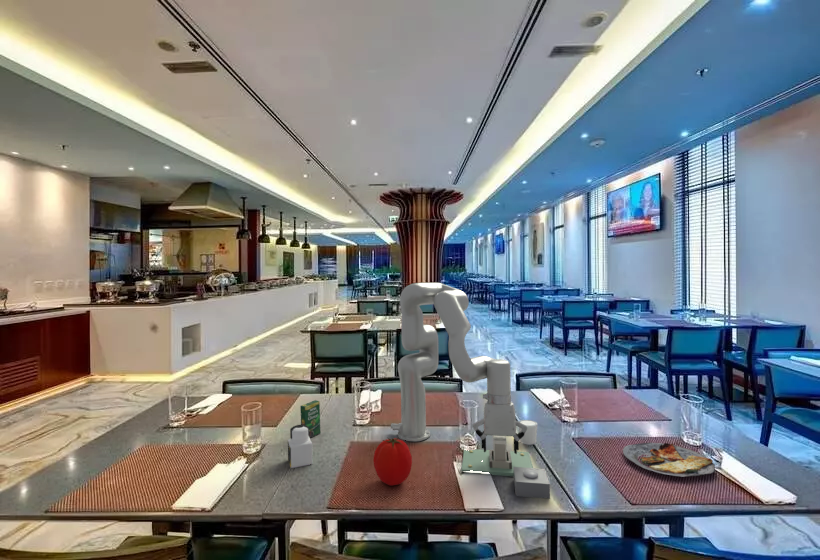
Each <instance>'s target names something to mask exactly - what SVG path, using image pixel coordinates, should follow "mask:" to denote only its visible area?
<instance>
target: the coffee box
mask: <svg viewBox="0 0 820 560" xmlns="http://www.w3.org/2000/svg"><path fill="white" fill-rule="evenodd" d="M320 402H321V401H320V400H316V399H315V400H313V401H310V402H308V403H305V404H302V405H300V407H299V408H300V425H307V426H308V427H309V438H310V437H311V438H313V437H315V435H316V436H318V435H320V434H321V412H320V410H321V409H320V408H321V406H320V405H321V404H320ZM317 434H318V435H317ZM311 438H310V439H311Z"/></svg>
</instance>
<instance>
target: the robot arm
mask: <svg viewBox="0 0 820 560" xmlns="http://www.w3.org/2000/svg"><path fill="white" fill-rule="evenodd" d="M469 302H470V301H469V298H468V295H467V294H466V293H465V292H464V291H462V290H460V289H458V288H455V287H451V286H450V285H447V284H444V283H441V282H414V283H411V284H409V285H407V286H405V287H404V288H403V290H402V291H401V293H400V296H399V306H400V311H401V344H402V347H403V349H404V350H405V351H409V352H413V351H414V352H415V351H419V352H415V353H410V354H406V355H404V356H403V357H401V358H400V360H399V361H398V363H397V372H398V377H399V381H400V383H399V384H400V407H401V408H400V411H401V412H400V413H401V415H400V417H401V418H400V419H401V422H399V423H391V424H390V429H392V431H398V432H397V438H399V440H402V441H405V440H406V441H405V442H420V441H425V440H427V439H429V437H430V436H431V431H430V430H429V429H428V428H427V424H426V423H427V420H426V419H427V416H426V415H427V413H426V411H427V409H426V406H427V405H426V388H425V385H424V382H423V381H422V378H424V377H426V376H430V375H433V374H434V373H435V372H436V371H437V370H438V367H439V334H438V331H437V330H436V329H435V327H433V325H431V324H424V313H423V310H422V309H421V307H420V306H426V305H427V306H428V305H433V306H434V308H435V310H436V312H437V314H438V316H439V319H440V320H441V322H442V324H443V326H444V328H445V330H446V332H447V335H448V344H447V345H448V348H447V349H448V356H449V360H450V362H451V365H452V367H453V368H454V370H455V372H456V374H457V376H458V378H460V379H461V380H462V381H463V382H465V383H469V384H470V383H471V384H472V383H474V382H475V383H476V382H478V381H480V380H485V379H486V393H484V394H483V393H482V399H485V400H486V401H485V403H484V406H483V407H484V408H483V410H484V411H483V418H482V419H480V420H478V421H476V422H474V423H473V422H472V428H473V429H474V431H475V434H476V435H477V437H479V438H480V440H481V449H483V450H484V452H486V450H487V436H492V437H493V436H506V437H513V451H514V453H515V454H517V452H518V451H519V449H520V447H519V446H520V445H519V444H520V442H521V441H520V439H521V438H522V437H523V436H524V434H525V432H526V431H527V426H526V425H524V424H522V423H520V422H519V421H518V420H517V418H516V410H515V405H514V402H513V401H512V392H511V391H512V390H511V388H512V387H511V386H512V385H511V384H512V383H511V377H512V376H511V364H510V362H509V361H508V360H505V359H502V358H501V359H498V358H497V359H496V358H492V357H489V356H486V355H479V356H474V357H470V355H469V353H468V351H467V348H466V344H465V343H466V342H465V341H466V340H465V339H466V336H467V334H468V333H469V332H470V330H471V328H472V327H471V326H472V325H471V323H470V322H469V320H468V317H467V315H466V313H465V311H466V310H468V307H469ZM482 425H483V430H482V431H481V430H480V429H479V427H480V426H482ZM517 427H518V428H519V427H520V428H521V429H522V430H521V431H520V432H518V433H517Z"/></svg>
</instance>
